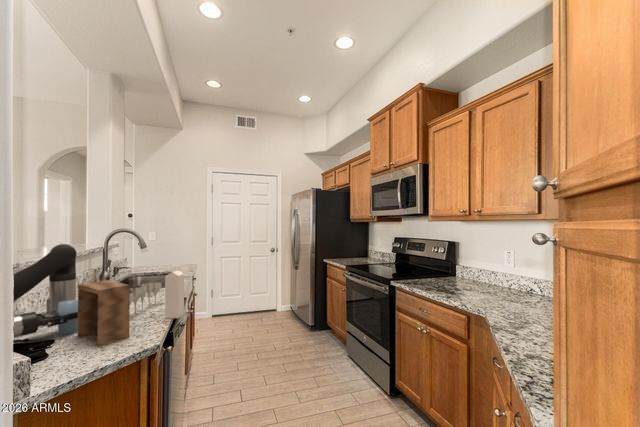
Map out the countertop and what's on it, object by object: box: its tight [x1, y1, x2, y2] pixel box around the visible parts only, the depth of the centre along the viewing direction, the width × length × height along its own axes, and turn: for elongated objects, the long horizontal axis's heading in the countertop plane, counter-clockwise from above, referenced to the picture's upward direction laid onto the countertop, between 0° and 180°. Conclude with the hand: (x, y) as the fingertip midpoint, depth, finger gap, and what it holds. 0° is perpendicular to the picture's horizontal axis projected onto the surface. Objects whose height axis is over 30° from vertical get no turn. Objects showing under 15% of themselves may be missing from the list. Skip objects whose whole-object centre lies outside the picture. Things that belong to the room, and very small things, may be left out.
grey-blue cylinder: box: [57, 299, 78, 336], centre depth 119 cm, size 6×6×12 cm
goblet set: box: [129, 280, 163, 321], centre depth 146 cm, size 28×6×13 cm, turn 0°
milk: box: [164, 266, 185, 319], centre depth 138 cm, size 6×6×22 cm
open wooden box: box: [77, 279, 131, 348], centre depth 114 cm, size 10×18×20 cm, turn 57°
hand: (75, 313), depth 121 cm, fingers closed on grey-blue cylinder, 6 cm apart
